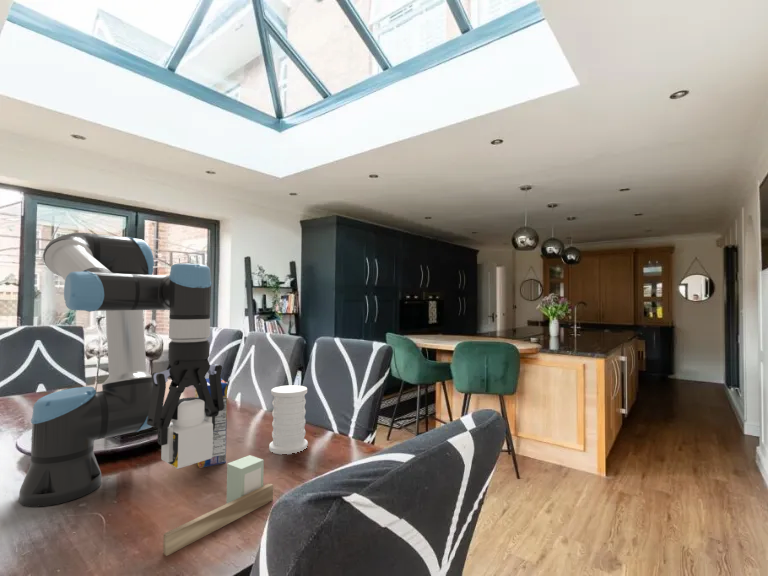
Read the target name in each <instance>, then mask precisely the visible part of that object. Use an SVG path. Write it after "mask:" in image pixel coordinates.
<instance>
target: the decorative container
mask: <svg viewBox="0 0 768 576" xmlns="http://www.w3.org/2000/svg"><path fill="white" fill-rule="evenodd" d="M307 393H308V388H307V386H303V385H299V384H298V385H296V384H294V385H293V384H289V385H281V386H275V387H273V388H272V389H271V393H270V394H271V396H273V400H272V402H271V403H272V407H273V410H272V412H271V414H272V417H273V420H272V423H271V426H272V431H271V437H272V441H271V442H269V445H268V447H269V449H268V450H269V452H271V453H272V452H273V453H272V454H276V455H282V454H287V455H293V454H292V453H295V454H298V453H297V452H299V453H301V452H300V451H302V452H304V451H305V450H304V449H306V448H307V449H308V447H307V446H309V442H308V440H307V439H306V438H305V436H306V433H307V432H306V429H305V425H306V423H307V422H306V421H307V420H306V417H305V416H306V413H307V411H306V408H305V405H306V402H307V399H306V396H305V395H306V394H307ZM307 449H306V450H307ZM303 450H304V451H303Z"/></svg>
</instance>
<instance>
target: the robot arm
mask: <svg viewBox="0 0 768 576" xmlns="http://www.w3.org/2000/svg"><path fill="white" fill-rule="evenodd" d="M42 259H43V262H44V264H45V266H46V268H48V270H49V271H50V272H51V273H53V274H54V275H56V276H58V277H61V278H62V279H63V280H64V284H63V285H64V286H63V298H64V301H65V302H64V303H65V306H66V308H67V309H69V310H71V311H85V312H89V313H90V312H100V311H101V312H104V311H105V321H106V339H107V341H106V342H107V344H106V345H107V363H108V377H107V378H106V380H105V381H103V382H102V384H101V387H102V390H101V391H97V390H96V389H95V387H93V386H80V387H71V388H67V389H63V390H59V391H54V392H52V393H48V394H46V395H44V396H42V397H40V398H38V399H37V401H35V402H34V404H33V407H32V416H31V419H30V423H31V446H30V447H31V448H30V449H31V450H30V465H29V468H28V469H27V472H26V475H25V476H24V479H23V482H22V484H21V487H20V489H19V497H18V499H19V500H18V502H19V504H21V505H23V506H25V507H31V508H32V507H33V508H34V507H48V506H53V505H59V504H63V503H66V502H71V501H73V500H77V499H79V498H82V497H84V496H86V495H89V494H91V493H92V492H94V491H95V490H96V489H98V488H99V487H100V486H101V485H102V471H101V469H100V466H99V463H98V461H97V457H96V456H95V452H94V447H95V446H94V443H95V441H97V440H100V439H101V440H102V439H106V438H112V437H115V436H121V435H126V434H130V433H138V432H140V431H143V430H147V429H150V428H152V427H153V428H157V443H158V445H159V446H161V451H160V452H161V453H160V454H161V455H160V456H161V457H160V458H161V459H160V460H162V461H163V460H164V461H163V462H165V461H166V462H172V461H173V427H172V426H169V425H170V423H172V422H171V419H172V417H173V414H174V412H175V409H176V406H177V404H178V401H179V399H181V396H182V393H184V391H185V389H186V388H189V387H191V386H193V387H194V388H196V391H197V394H198V396H199V398H200V399H203V400H204V401H205V407H204V412H205V414H206V415H204V419H203V420H205V421H208V422H210V423H212V424H213V430H214V429H215V416H218V414H219V411H222V410H223V409H224V402H223V393H222V384H221V379H222V377H221V376H222V375H221V374H222V370H223V366H222V365H221V364H216V363H215V364H214V363H213V364H210V362H209V357H210V351H211V350H210V341H209V340H208V339H209V338H210V337H211V294H212V293H211V292H212V283H213V282H212V277H211V269H210V266H208V265H206V264H201V263H174V264H172V265H171V266H170V272H169V275H163V274H161V275H160V274H153V273H154V271H155V270H154V266H155V259H154V253H153V251H152V248H151V247H150V244H148V243H147V241H145V240H144V239H140V238H135V237H130V236H120V235H119V236H118V235H111V234H97V233H90V232H72V233H67V234H64V235H60V236H58V237H56V238H54V239H52V240H51V241H50V242H48V244H47V245H46V246H45V248H44V250H43V254H42ZM143 311H169V312H168V313H169V316H168V317H169V320H168V321H169V323H168V325H169V326H168V327H169V329H168V338H169V339H170V340H171V341H170V342H169V343H168V350H167V351H168V356H167V358H168V366H167V368H166V369H165V370H162V371H160V372H153V373H152V374H150V373H149V372H148V371H147V360H146V359H147V356H146V343H145V342H146V341H145V327H144V325H145V324H144V312H143ZM207 373H208V378H209V382H210V391H211V396H210V393H209V390H208V388H207V385H208V384H207V381H206V379H207V378H206V375H207ZM169 378H170V380H171V381H170V384H169V387H168V393H167V395H166V389H167V388H166V387H167V383H168V381H169ZM165 395H166V397H165ZM166 462H165V463H166Z"/></svg>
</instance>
